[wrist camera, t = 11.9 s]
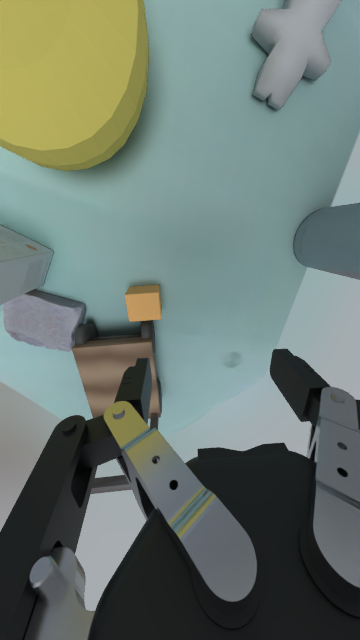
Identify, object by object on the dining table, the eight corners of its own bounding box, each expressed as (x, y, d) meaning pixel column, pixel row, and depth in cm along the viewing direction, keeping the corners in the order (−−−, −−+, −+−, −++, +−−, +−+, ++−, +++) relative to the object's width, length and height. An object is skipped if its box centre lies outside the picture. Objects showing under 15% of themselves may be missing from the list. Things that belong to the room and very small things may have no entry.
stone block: (85, 341, 40) (89, 299, 35) (74, 359, 36) (76, 314, 31) (21, 325, 39) (15, 278, 33) (2, 342, 35) (-9, 291, 29)
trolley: (85, 318, 36) (18, 391, 20) (152, 313, 37) (142, 380, 20) (106, 402, 44) (72, 504, 28) (161, 397, 45) (160, 494, 28)
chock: (159, 284, 35) (158, 292, 30) (161, 308, 37) (161, 319, 32) (129, 286, 35) (124, 294, 30) (133, 310, 37) (129, 321, 32)
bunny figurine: (240, 66, 22) (342, -206, 15) (229, 89, 27) (304, -115, 20) (309, 112, 24) (426, -111, 17) (288, 126, 29) (374, -47, 22)
